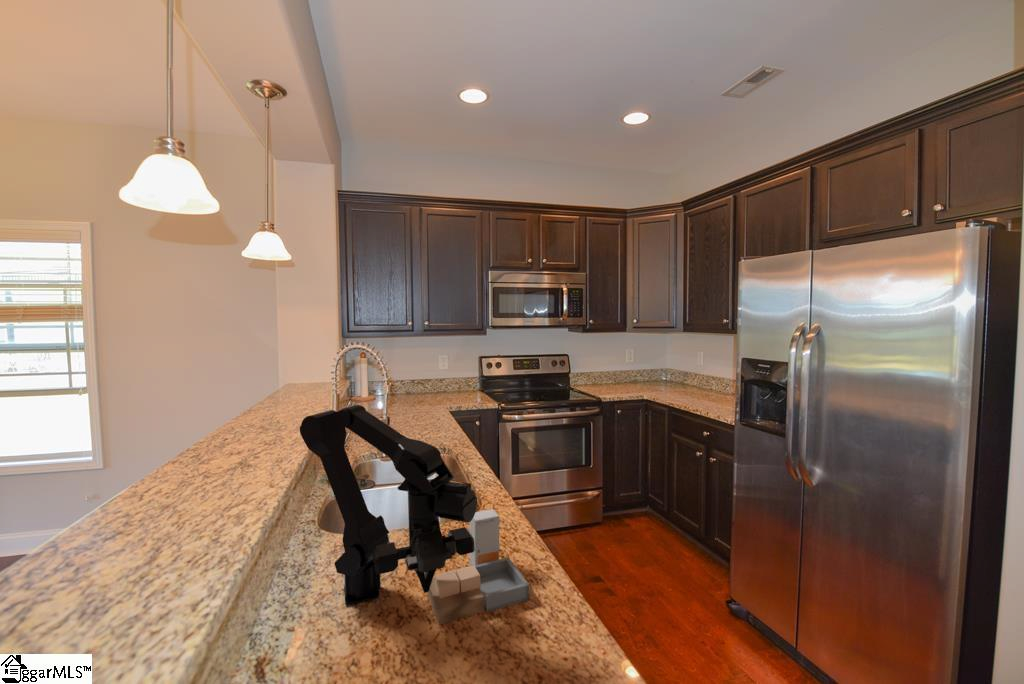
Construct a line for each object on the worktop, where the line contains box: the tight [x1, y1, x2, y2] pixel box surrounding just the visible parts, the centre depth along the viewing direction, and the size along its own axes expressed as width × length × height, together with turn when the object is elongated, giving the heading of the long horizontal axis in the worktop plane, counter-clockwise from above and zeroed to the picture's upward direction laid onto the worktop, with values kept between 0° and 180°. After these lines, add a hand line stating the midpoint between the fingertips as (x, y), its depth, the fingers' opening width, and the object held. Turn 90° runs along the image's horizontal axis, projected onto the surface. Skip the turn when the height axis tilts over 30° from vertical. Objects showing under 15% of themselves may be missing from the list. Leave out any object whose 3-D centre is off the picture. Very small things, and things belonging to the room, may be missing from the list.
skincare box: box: [469, 508, 500, 566], centre depth 99 cm, size 6×4×12 cm
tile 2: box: [454, 565, 480, 593], centre depth 88 cm, size 4×4×2 cm
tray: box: [475, 557, 530, 613], centre depth 90 cm, size 9×11×3 cm
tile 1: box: [434, 569, 460, 598], centre depth 86 cm, size 4×4×2 cm
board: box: [426, 577, 485, 626], centre depth 87 cm, size 9×10×3 cm
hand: (425, 591), depth 84 cm, fingers closed
